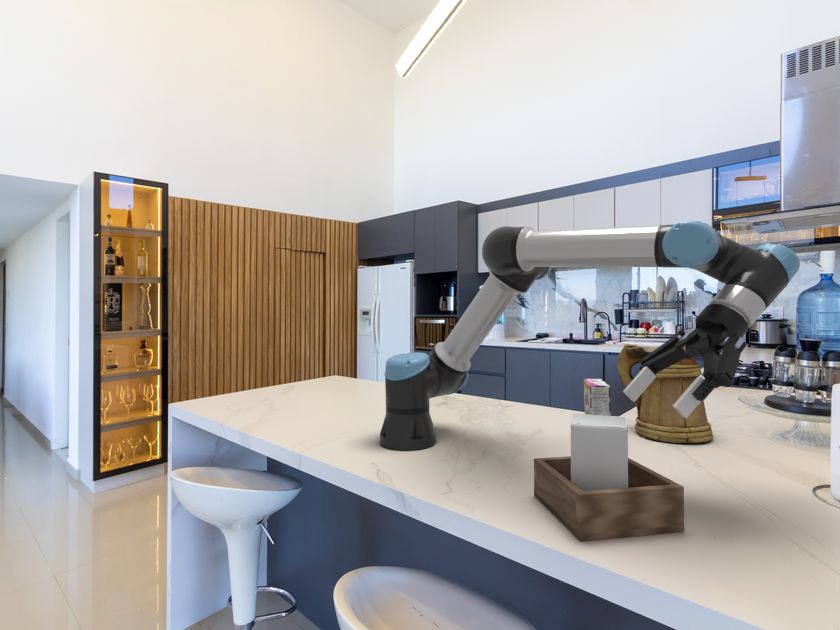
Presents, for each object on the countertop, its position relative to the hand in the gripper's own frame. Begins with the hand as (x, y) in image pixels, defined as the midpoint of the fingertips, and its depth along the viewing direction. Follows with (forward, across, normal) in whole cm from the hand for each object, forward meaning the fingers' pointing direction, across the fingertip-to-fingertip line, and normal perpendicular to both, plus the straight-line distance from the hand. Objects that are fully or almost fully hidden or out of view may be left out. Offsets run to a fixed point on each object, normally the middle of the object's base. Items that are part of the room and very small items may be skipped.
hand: (651, 404), depth 80 cm
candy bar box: (+6, +36, -20) cm, 42 cm away
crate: (+20, 0, -6) cm, 21 cm away
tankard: (-10, +43, -37) cm, 57 cm away
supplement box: (+19, 0, -5) cm, 20 cm away
